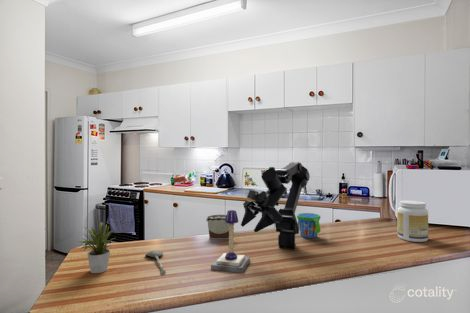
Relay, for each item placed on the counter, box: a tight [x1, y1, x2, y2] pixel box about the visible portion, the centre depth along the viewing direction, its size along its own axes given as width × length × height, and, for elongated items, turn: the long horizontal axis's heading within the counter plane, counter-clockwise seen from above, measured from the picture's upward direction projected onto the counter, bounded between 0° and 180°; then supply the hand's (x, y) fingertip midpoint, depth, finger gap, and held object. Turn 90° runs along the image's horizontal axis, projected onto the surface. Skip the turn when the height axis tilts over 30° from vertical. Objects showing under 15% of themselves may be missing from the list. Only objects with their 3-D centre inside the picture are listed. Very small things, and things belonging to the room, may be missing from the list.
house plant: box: [77, 221, 116, 274], centre depth 100 cm, size 14×14×16 cm
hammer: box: [145, 249, 167, 275], centre depth 107 cm, size 22×3×7 cm
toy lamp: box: [225, 209, 239, 260], centre depth 104 cm, size 5×5×17 cm
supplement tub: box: [396, 199, 429, 243], centre depth 135 cm, size 12×12×17 cm
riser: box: [210, 252, 251, 274], centre depth 104 cm, size 11×11×2 cm
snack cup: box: [296, 212, 322, 239], centre depth 139 cm, size 16×10×10 cm
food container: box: [206, 214, 229, 240], centre depth 139 cm, size 12×6×10 cm, turn 84°
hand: (247, 228), depth 107 cm, fingers open, 9 cm apart
